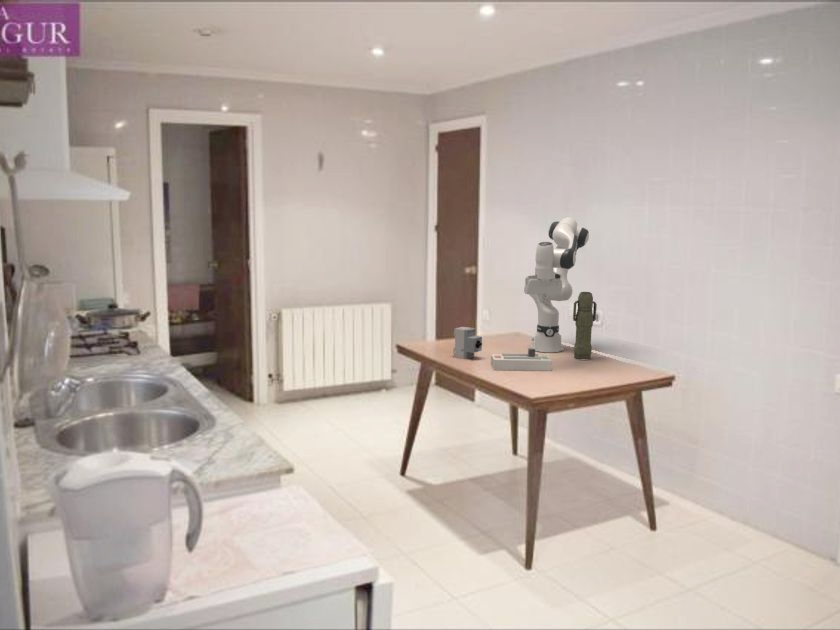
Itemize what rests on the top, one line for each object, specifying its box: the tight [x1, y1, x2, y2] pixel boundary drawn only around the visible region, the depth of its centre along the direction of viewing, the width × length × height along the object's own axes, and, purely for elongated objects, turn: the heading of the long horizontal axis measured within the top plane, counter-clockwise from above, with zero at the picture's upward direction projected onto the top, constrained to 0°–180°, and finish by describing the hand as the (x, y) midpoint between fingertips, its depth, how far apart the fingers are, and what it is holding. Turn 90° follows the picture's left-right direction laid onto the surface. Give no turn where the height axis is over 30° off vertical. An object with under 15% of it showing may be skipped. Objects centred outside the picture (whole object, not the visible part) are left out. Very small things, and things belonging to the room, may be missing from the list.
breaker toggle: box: [527, 347, 536, 357], centre depth 354 cm, size 3×3×4 cm
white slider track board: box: [490, 353, 553, 372], centre depth 355 cm, size 13×28×6 cm, turn 91°
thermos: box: [572, 291, 597, 360], centre depth 376 cm, size 9×12×35 cm
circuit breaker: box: [452, 326, 483, 360], centre depth 375 cm, size 8×14×15 cm, turn 53°
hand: (542, 302), depth 359 cm, fingers closed
